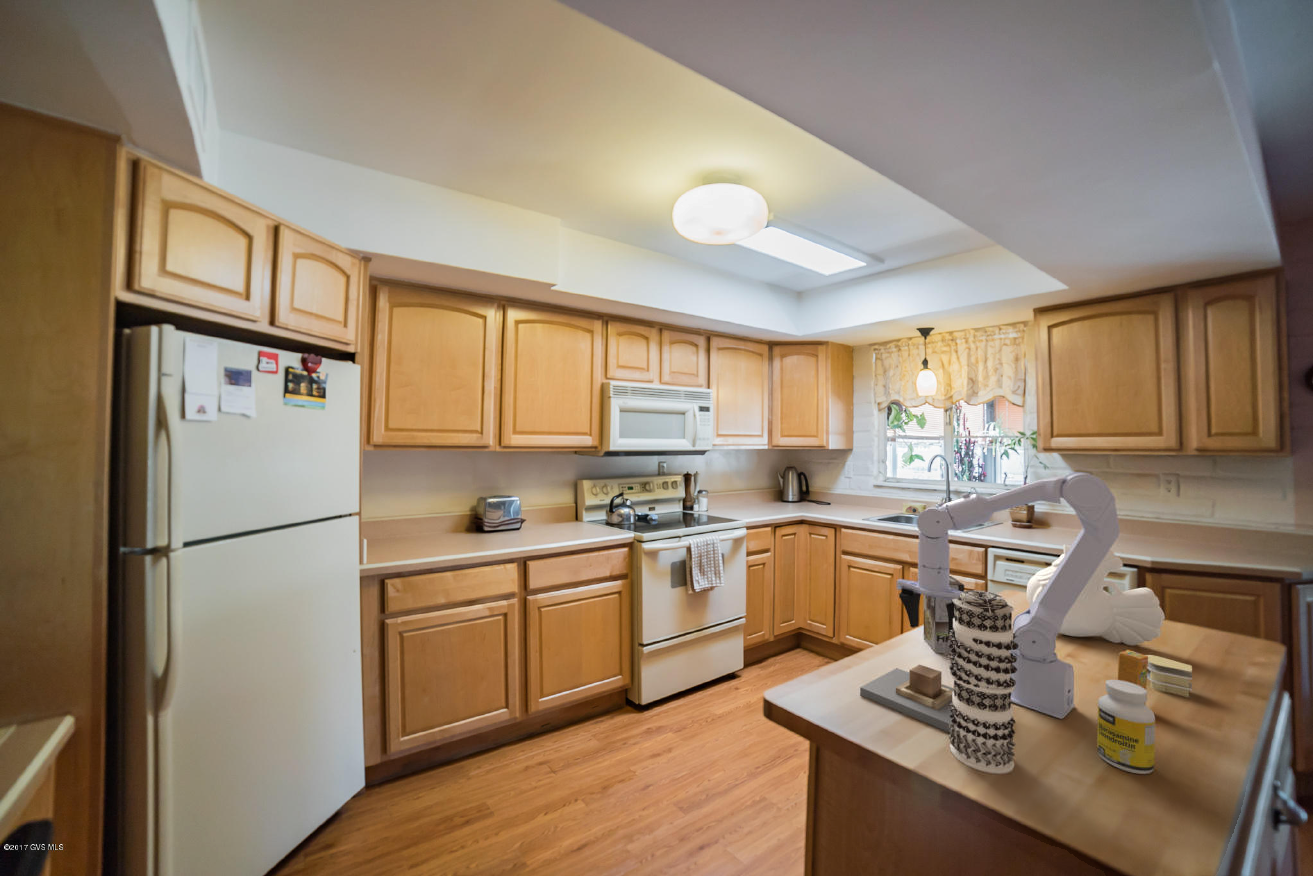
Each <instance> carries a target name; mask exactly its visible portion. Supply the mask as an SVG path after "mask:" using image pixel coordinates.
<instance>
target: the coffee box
mask: <svg viewBox="0 0 1313 876" xmlns="http://www.w3.org/2000/svg"><path fill="white" fill-rule="evenodd" d="M949 588H952V589H955V590H958V591H961V592H964V591H965V584H963V583H962V582H960V581H959V580H957V579H956V578H955V577H953V576H951V575H949ZM949 603H952V601H949V600H944V599H940V598H936V597H932V596H927V595H923V640H924V641H925V642H926V643H927V645H928V646H929V647H930V648H931V649H932V650H933V652H934V653H938V654H950V655H951V653H952V652H951V651H950V647H949V646H948V644H949V643H950V638H949V637H948V627H949V621H948V613H947V608H946V604H949ZM954 646H955V645H953V647H954Z"/></svg>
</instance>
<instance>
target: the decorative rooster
mask: <svg viewBox="0 0 1313 876" xmlns="http://www.w3.org/2000/svg"><path fill="white" fill-rule="evenodd" d="M1070 547H1071V545H1068V544H1063V553H1062V554H1060V556H1059V557H1058V558H1057V559H1056V560H1054V561H1053V562H1052V563H1051V565H1049V566H1048V567H1045V568H1042V569H1041V570H1038V571H1037V572H1035V574H1034V575H1033V576H1032V577H1031V578H1029V580H1028V582H1027V584H1026V585H1027V586H1026V600H1027V602H1028V605H1029V606H1030V605H1031V604H1032V603H1033V602H1034V601H1035V600H1036V599H1037V598H1038V597H1039V595H1040V593H1041V592H1042V590H1043V589H1044V587H1045V586H1046V584H1047V583H1048V581H1049V579H1050V578H1051V576H1052V575H1053V573H1054V572H1055V570H1056V569H1057V567H1058V565H1059V564H1060V562H1061V561H1062V559H1063V558H1064V556H1065V555H1066V553H1067V552H1068V550H1069V548H1070ZM1123 566H1124V563H1123V561H1122V559H1121V558H1120V557H1119V556H1116V553H1115V552H1114V551H1113V549H1111V548H1110V550H1109V551H1108V553H1107V554H1106V556H1105V557H1104V559H1103V560H1102V562H1101V563H1100V565H1099V566H1098V568H1097V569H1096V571H1095V572H1094V574H1093V575H1092V577H1091V578H1090V580H1089V581H1088V583H1087V584H1086V586H1085V587H1084V589H1083V590H1082V592H1081V593H1080V595H1079V596H1078V598H1077V599H1076V601H1075V602H1074V604H1073V605H1072V607H1071V608H1070V610H1069V611H1068V613H1067V614H1066V616H1065V618H1064V621H1063V624H1062V627H1061V629H1060V631H1059V633H1058V634H1062V635H1066V636H1070V637H1080V638H1081V637H1083V638H1084V637H1102V638H1104V639H1105V640H1107V641H1109V642H1111V643H1113V644H1120V643H1123V644H1125V645H1126V646H1137V645H1140V644H1143V643H1145V642H1151V641H1152V640H1153V639H1158V638H1159V637H1160V636H1161V634H1162V629H1161V627H1163V625H1164V620H1165V619H1166V617H1165V613H1164V611H1163V609H1162V608H1161V606H1160V600H1159V598H1158V596H1157V595H1156V594H1155V593H1154V591H1153V589H1151V588H1148V587H1139V588H1134V589H1133V588H1132V589H1129V590H1124V591H1122V589H1121V587H1120V586H1119V585H1118V584H1117V583H1116V582H1113V581H1110V580H1105V578H1107V576H1108V574H1109V573H1111V572H1116V571H1119V570H1121V569H1122V568H1123ZM1105 587H1107V588H1108V587H1109V588H1111V589H1112V590H1113V591H1114V593H1112V594H1110V593H1109V592H1107V591H1106V590H1104V588H1105Z"/></svg>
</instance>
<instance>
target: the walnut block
mask: <svg viewBox="0 0 1313 876" xmlns="http://www.w3.org/2000/svg"><path fill="white" fill-rule="evenodd" d="M909 673H910V685H909V690H910V691H912V692H915V693H918V694H920V695H923V696H925V697H928V698H931V699H933V700H935V699H936V698H938V697H939V696H941V684H942V671H940V670H938V669H934V668H931V667H928V666H926V665H923V664H918V665H916V666H914V667H912V668H911V669H909Z"/></svg>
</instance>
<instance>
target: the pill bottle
mask: <svg viewBox="0 0 1313 876" xmlns="http://www.w3.org/2000/svg"><path fill="white" fill-rule="evenodd" d="M1105 691H1106V693H1107V694H1104V695H1102V696H1100V697H1099V698H1098V702H1097V744H1096V746H1097V748H1096V749H1097V753H1098V755H1099V757H1100V758H1101V759H1103V761H1105V762H1106V763H1108V764H1110V765H1111V766H1113V767H1116V768H1118V769H1120V770H1122V771H1125V772H1129V773H1133V774H1137V775H1138V774H1139V775H1146V774H1151V773H1152V772H1153V771H1154V768H1155V742H1156V741H1155V740H1156V717H1155V714H1154V713H1155V712H1153V710H1152V709H1151V708H1150V707H1149V706H1148V705H1147V704H1146V703H1145V702H1148V692H1147V689H1146V690H1145V689H1144V688H1142V687H1141V686H1138V685H1136V684H1133V683H1130V682H1126V681H1121V680H1118V679H1107V680H1106V681H1105Z"/></svg>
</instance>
